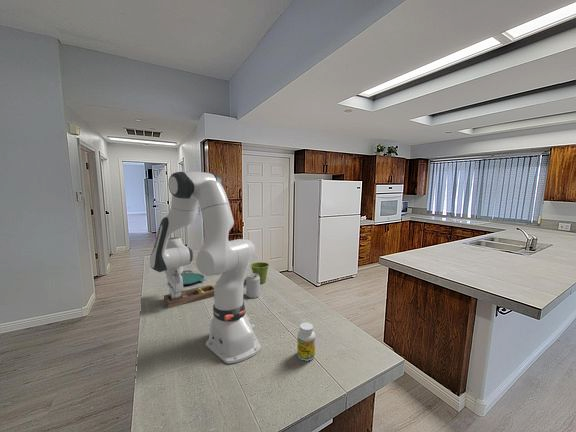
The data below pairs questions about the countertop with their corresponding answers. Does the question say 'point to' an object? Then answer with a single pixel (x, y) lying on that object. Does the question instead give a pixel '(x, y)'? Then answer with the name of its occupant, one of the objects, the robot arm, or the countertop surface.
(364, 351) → the countertop surface
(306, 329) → the supplement bottle
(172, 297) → the steel block
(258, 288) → the can
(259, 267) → the plant pot
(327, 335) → the countertop surface
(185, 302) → the walnut rail
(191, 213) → the robot arm
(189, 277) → the cutlery set
